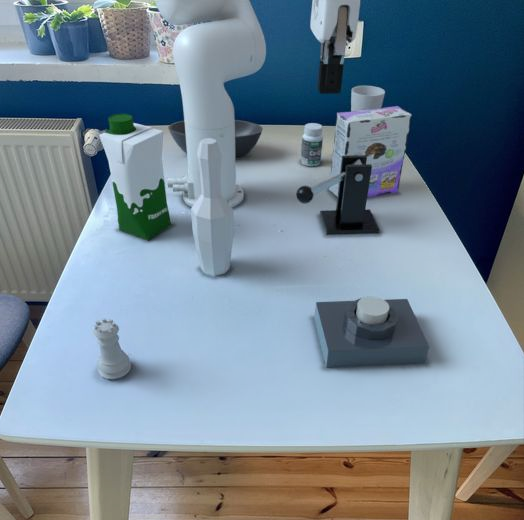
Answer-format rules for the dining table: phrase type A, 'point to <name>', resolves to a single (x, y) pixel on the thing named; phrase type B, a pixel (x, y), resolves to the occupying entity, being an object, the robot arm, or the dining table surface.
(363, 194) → the lever bracket
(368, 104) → the cup
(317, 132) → the pill bottle
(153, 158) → the milk carton
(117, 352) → the rook chess piece
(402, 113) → the candy box
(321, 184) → the ball knob lever
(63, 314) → the dining table surface
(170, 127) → the bowl
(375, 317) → the white push button
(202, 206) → the low poly bottle
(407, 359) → the block
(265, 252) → the dining table surface
